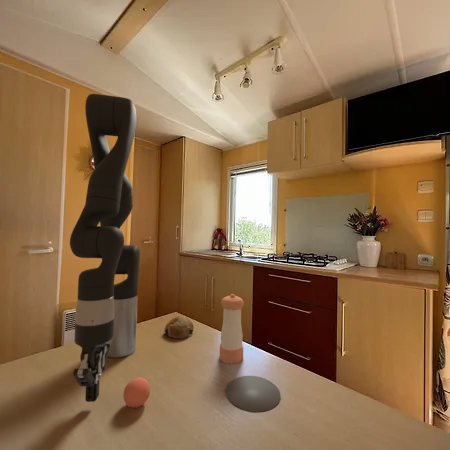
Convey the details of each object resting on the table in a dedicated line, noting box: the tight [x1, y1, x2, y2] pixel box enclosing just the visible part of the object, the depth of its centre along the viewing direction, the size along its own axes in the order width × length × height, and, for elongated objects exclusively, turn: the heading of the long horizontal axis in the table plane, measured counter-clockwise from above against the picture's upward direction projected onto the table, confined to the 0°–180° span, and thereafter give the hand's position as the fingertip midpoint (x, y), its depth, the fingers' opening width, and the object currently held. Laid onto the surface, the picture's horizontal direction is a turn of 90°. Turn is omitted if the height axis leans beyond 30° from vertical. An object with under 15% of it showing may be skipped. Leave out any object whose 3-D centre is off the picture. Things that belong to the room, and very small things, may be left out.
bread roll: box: [164, 315, 194, 339], centre depth 93 cm, size 10×10×8 cm
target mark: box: [225, 375, 281, 413], centre depth 60 cm, size 13×13×1 cm
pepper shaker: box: [219, 293, 245, 364], centre depth 77 cm, size 7×7×19 cm
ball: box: [123, 377, 151, 409], centre depth 55 cm, size 6×6×6 cm
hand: (92, 399), depth 54 cm, fingers closed
